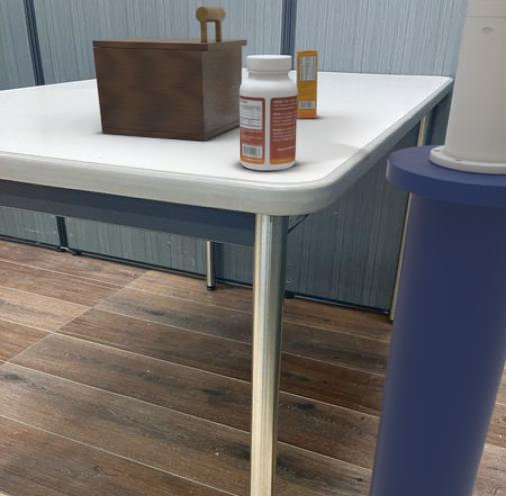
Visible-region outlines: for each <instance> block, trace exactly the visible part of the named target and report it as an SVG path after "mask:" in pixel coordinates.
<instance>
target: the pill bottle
mask: <svg viewBox="0 0 506 496" xmlns="http://www.w3.org/2000/svg"><path fill="white" fill-rule="evenodd" d="M245 61H246V63H245V64H246V66H245V67H246V72H247V73H248V77H247V78H246V79H244V80H242V83H241V85H240V93H239V97H240V125H239V161H240V164H241V166H242V167H245V168H247V169H249V170H254V171H266V172H267V171H280V170H281V171H282V170H286V169H290V168H292V167H293V166H294V165H295V163H296V155H297V154H296V153H297V125H298V123H297V122H298V118H297V96H298V94H297V86H296V82H295V81H294V80H293V79H291V78H290V76H289V73H291V71H292V66H293V65H292V61H293V60H292V55H287V54H285V55H284V54H255V55H247V56H246V60H245Z"/></svg>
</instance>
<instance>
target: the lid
mask: <svg viewBox="0 0 506 496" xmlns="http://www.w3.org/2000/svg"><path fill="white" fill-rule="evenodd" d="M195 18H196V20H197V22H199V23H200V25H199V27H200V38H199V37H198V38H197V37H196V38H194V37H151V36H150V37H149V36H143V37H127V38H125V37H124V38H112V39H95V40H92V42H91V43H92V48H96V47H102V48H136V49H170V50H205V51H208V50H216V49H224V48H233V47H241V46H242V47H247V46H248V40H247V39H242V38H241V39H238V38H222V37H223V35H222V33H223V32H222V22H223V21H225V19H226V11H225V9H224V8H223V7H221V6H198V7H197V8H196V11H195ZM208 23H214V33H215V36H214V37H215V38H208Z"/></svg>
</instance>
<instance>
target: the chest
mask: <svg viewBox="0 0 506 496" xmlns="http://www.w3.org/2000/svg"><path fill="white" fill-rule="evenodd" d="M92 51H93V59H94V69H95V79H96V89H97V97H98V98H97V99H98V106H99V114H100V125H101V132H102V134H109V135H121V136H135V137H147V138H148V137H149V138H161V139H171V140H173V139H174V140H184V141H185V140H187V141H199V142H201V141H202V142H206V141H208V140H209V139H212V138H214V137H216V136H219V135H220V134H223V133H225V132H227V131H230V130H232V129H234V128H237V127H240V97H239V93H240V85H241V83H242V82H243V46H241V47H233V48H224V49H216V50H208V51H205V50H170V49H136V48H102V47H92Z"/></svg>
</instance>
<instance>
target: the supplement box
mask: <svg viewBox="0 0 506 496" xmlns="http://www.w3.org/2000/svg"><path fill="white" fill-rule="evenodd" d="M318 55H319V53H318V50H316V49H299V50H298V49H297V50H296V82H295V84H296V86H297V94H298V96H297V119H301V120H303V119H316V118H317V115H318V113H317V111H318V70H319V69H318V66H319V65H318V64H319V61H318V59H319V56H318Z"/></svg>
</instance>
